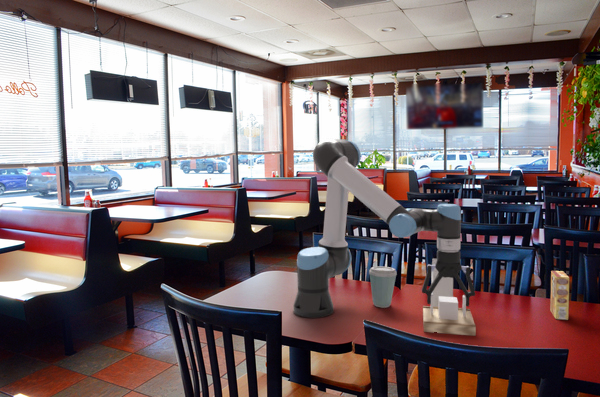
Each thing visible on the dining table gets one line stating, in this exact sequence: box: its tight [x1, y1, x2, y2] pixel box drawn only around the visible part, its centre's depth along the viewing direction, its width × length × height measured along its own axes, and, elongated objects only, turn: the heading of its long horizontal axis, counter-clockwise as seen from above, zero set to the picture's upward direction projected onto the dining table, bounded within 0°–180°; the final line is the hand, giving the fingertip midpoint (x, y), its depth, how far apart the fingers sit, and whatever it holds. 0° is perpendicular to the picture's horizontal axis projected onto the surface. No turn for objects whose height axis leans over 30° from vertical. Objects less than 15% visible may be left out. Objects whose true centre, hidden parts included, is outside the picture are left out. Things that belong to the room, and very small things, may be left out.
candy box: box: [550, 270, 570, 321], centre depth 159 cm, size 9×4×15 cm, turn 162°
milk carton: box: [430, 258, 454, 307], centre depth 169 cm, size 7×7×19 cm
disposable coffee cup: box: [368, 266, 398, 309], centre depth 174 cm, size 11×11×15 cm
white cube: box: [438, 296, 459, 320], centre depth 153 cm, size 6×6×6 cm
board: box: [422, 305, 477, 337], centre depth 153 cm, size 16×16×3 cm
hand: (447, 314), depth 153 cm, fingers open, 10 cm apart
